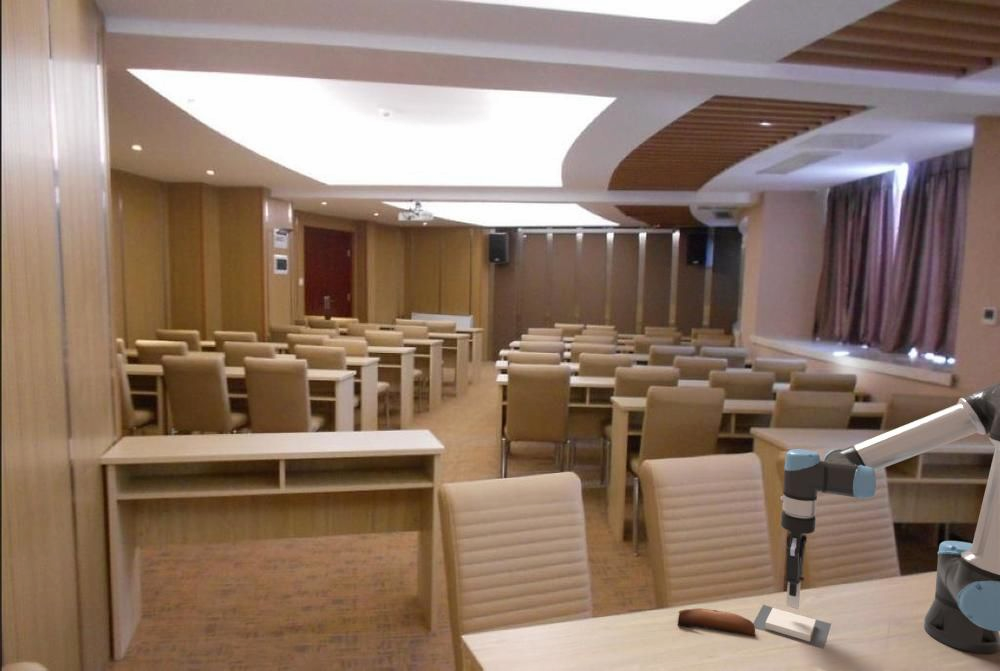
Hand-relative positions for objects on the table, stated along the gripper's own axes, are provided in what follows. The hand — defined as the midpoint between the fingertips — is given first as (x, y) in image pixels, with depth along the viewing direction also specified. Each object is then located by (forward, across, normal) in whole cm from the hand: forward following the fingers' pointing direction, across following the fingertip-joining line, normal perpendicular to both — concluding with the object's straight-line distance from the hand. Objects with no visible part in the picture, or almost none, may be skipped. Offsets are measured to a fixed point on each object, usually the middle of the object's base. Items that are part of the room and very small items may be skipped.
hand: (792, 606), depth 158 cm
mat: (+5, 0, 0) cm, 5 cm away
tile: (+4, -3, 0) cm, 5 cm away
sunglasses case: (+6, +10, -16) cm, 20 cm away
